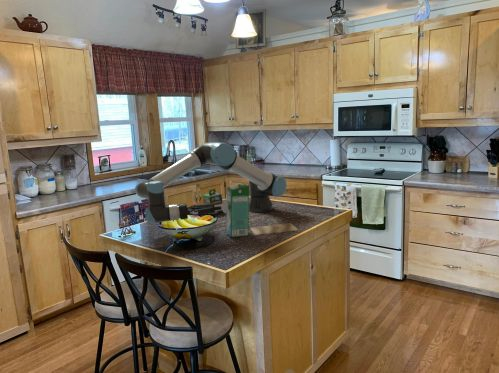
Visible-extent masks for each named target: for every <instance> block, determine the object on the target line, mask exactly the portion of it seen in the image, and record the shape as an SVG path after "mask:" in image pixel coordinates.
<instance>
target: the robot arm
mask: <svg viewBox="0 0 499 373" xmlns="http://www.w3.org/2000/svg"><path fill="white" fill-rule="evenodd" d="M205 165H215V166H217V167H219V168H220V169H222V170H224V171H228V170H230V171H232V172H234V173H236V174H237V175H239V176H241V177H243V178H244V179H245V180H248V183H249V184H248V186H249V212H250V213H267V212H271V211H273V207H274V206H273V204H272V201H271V198H270V196H271V197H274V198H280V197H282V196H284V194H285V192H286V190H287V184H288V183H287V180H286V179H285V178H284V177H282V176H278V175H276V174H274V173H272V172H271V171H264V170H262V169H261V168H259V167H257V165H254V164H252V163H251V162H249V161H248V160H246V159H244V158H242V156H239V155H238V151H236V149H235V148H234V146H232V145H231V144H230V143H227V142H223V141H221V142H211V141H208V142H205V143H203V144H200V145H199V146H197V147H196V148H194V149H193V150H191V151H189V152H188V155H187V156H184V157H182V159H180V160H179V161H177V162H175V163H174V164H172V165H171V166H168V167H167V168H165V169H164V170H162V171H161V172H159V173H157V174H156V175H154V176H153V177H151V178H149V179H147V180H146V181H140V182H138V183H136V185H135V188H134V192H135V194H136V195H137V196H138V197H140V198H142V199H146V200H148V207H145V219H146V222H147V223H151V224H152V223H162V222H169V221H170V222H171V221H172V222H175V221H179V219H180V220H188V218H189V216H194V217H196V216H201V215H202V216H203V215H205V214H207V213H213V212H214V213H215V211H221V210H223V211H226V210H228V204H226V203H223V204H220V205H214V204H213V205H212V204H209V205H203V204H193V205H190V206H188V204H187V203H179V204H178V203H177V204H175V203H174V204H169V205H166V197H165V187H168V186H169V185H170V184H172V183H174V182H175V181H177V180H179V179H180V178H181V177H183V176H184V175H186V174H188V173H189V172H191V171H192V170H194V169H196V168H201V167H203V166H205ZM188 215H189V216H188ZM207 215H208V214H207ZM174 220H175V221H174Z"/></svg>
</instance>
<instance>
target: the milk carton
mask: <svg viewBox="0 0 499 373" xmlns="http://www.w3.org/2000/svg"><path fill="white" fill-rule="evenodd" d="M225 190H226V192H225V195H226V196H225V199H226V200H225V204H228V210H225V232H226V234H227V235H228V236H230V238H233V237H244V236H249V228H250V227H249V225H250V224H249V216H250V213H249V212H250V211H249V201H250V186H249V184H247V183H244V182H243V183H238V184H231V185H230V186H229V187H226V188H225Z"/></svg>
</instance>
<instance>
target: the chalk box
mask: <svg viewBox="0 0 499 373" xmlns="http://www.w3.org/2000/svg"><path fill="white" fill-rule="evenodd" d="M209 204H212V205H213V204H214V205H220V204H224V203H223V194H222V193H218V192H216V188H212V189H209V190H208V193H205V194H203V195H202V205H209ZM223 212H224V210H221V211H215V213H214V212H213V213H208V214H207V215H210V214H211V216H212V215H218V214H220V213H223Z"/></svg>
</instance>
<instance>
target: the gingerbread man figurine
mask: <svg viewBox="0 0 499 373" xmlns="http://www.w3.org/2000/svg"><path fill="white" fill-rule="evenodd" d="M124 214H125V215H124ZM120 216H121V220H119V222H118V227H119V228H122V230H121V232H120V234H121V235H122V234H123V235H126V234H130V233H134V232H136V230H133V229H132V228H131V226H130V225H129V222H130V221H131V220H132V218H133V217H132V215H131V214H128V213H127V212H122V213H121V215H120ZM128 219H129V220H128ZM127 227H128V228H127ZM136 233H137V232H136ZM134 234H135V233H134Z"/></svg>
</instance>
